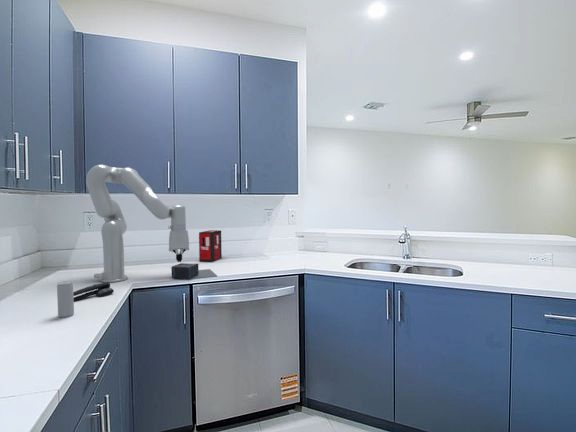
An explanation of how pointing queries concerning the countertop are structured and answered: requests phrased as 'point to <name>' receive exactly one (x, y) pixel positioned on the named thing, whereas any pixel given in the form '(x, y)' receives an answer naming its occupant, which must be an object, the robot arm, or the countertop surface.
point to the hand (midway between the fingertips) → (179, 261)
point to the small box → (184, 270)
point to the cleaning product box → (210, 246)
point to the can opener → (102, 291)
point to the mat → (203, 274)
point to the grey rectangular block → (65, 299)
